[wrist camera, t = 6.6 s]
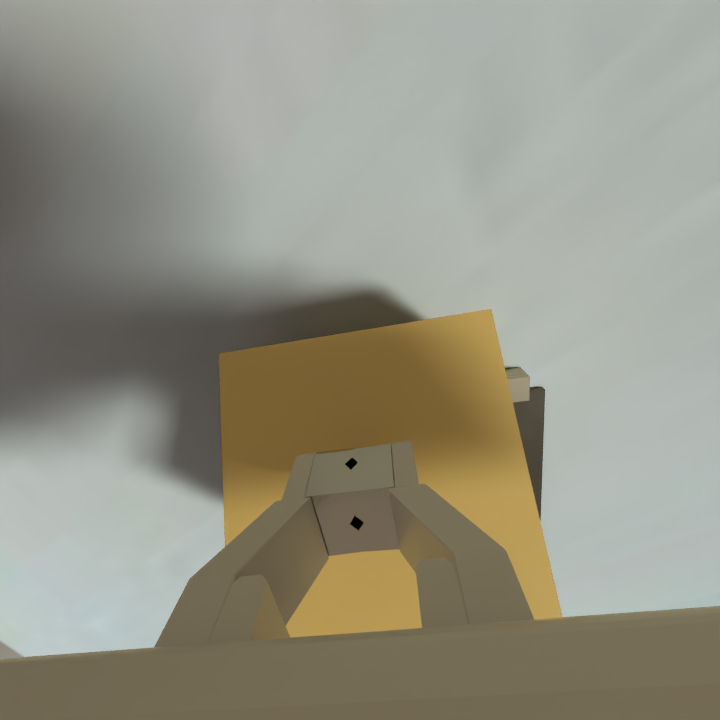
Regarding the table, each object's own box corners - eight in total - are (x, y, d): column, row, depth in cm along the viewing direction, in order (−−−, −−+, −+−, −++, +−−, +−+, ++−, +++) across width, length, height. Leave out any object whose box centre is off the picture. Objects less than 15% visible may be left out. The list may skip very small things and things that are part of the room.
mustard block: (218, 353, 11) (230, 709, 9) (490, 308, 10) (579, 690, 8) (274, 377, 16) (291, 612, 14) (463, 348, 15) (513, 594, 13)
